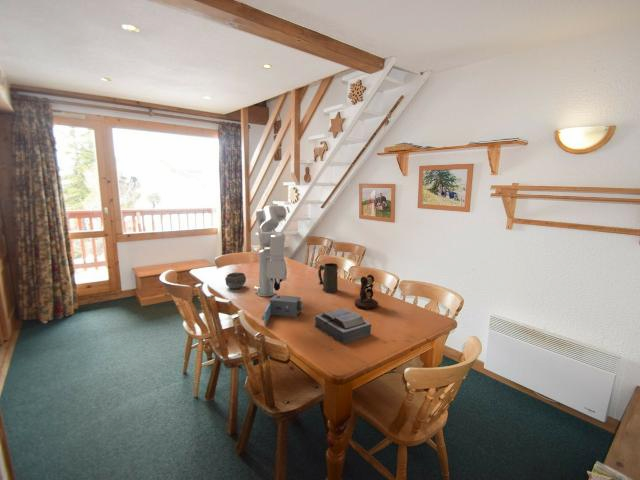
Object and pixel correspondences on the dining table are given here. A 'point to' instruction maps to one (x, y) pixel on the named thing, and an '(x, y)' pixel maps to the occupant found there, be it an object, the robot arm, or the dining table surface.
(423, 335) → the dining table surface
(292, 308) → the camera body
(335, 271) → the beer stein
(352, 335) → the grey stacked slabs
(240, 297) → the dining table surface
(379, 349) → the dining table surface
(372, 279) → the brown figurine
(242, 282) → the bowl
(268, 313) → the side door
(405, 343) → the dining table surface
